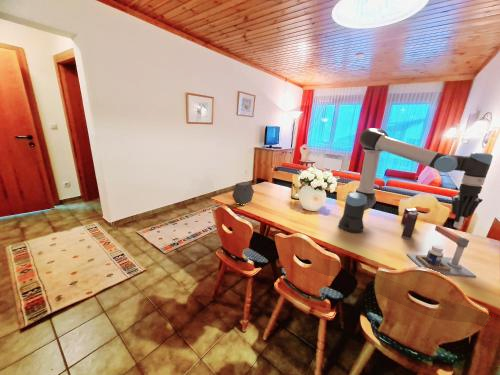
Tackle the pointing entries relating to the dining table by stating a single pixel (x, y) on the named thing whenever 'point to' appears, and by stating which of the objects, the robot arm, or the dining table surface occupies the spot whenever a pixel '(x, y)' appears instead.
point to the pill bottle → (434, 255)
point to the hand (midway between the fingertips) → (456, 227)
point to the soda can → (406, 214)
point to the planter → (243, 193)
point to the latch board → (444, 264)
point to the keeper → (452, 236)
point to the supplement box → (409, 224)
